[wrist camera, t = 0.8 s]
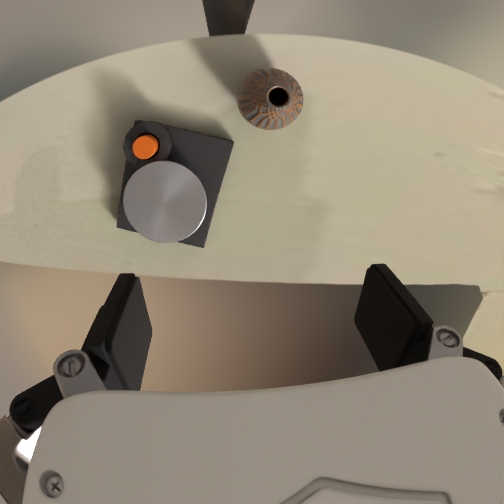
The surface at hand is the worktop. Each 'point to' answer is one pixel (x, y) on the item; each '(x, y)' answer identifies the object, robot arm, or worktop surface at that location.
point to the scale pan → (165, 201)
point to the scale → (187, 153)
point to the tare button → (145, 146)
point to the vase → (270, 99)
